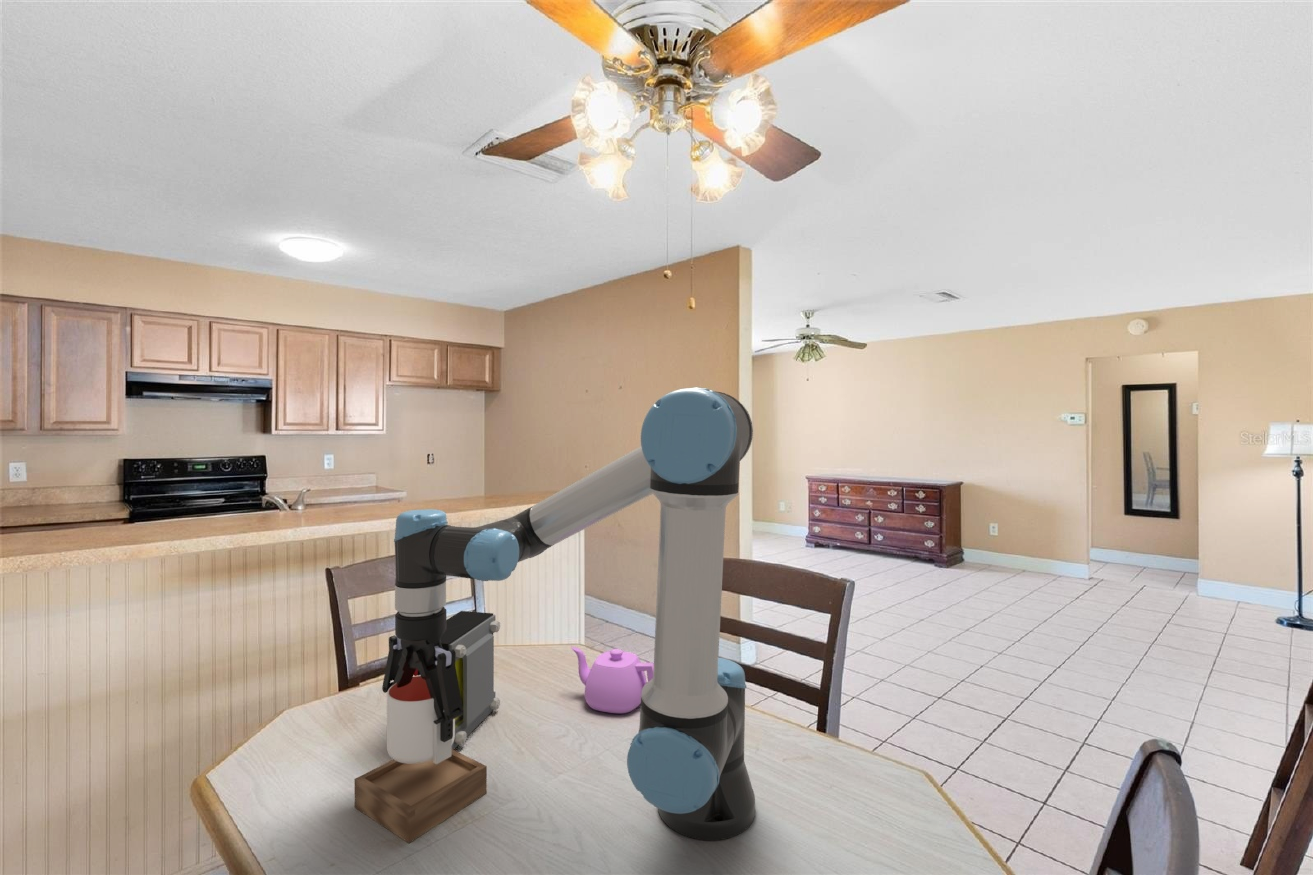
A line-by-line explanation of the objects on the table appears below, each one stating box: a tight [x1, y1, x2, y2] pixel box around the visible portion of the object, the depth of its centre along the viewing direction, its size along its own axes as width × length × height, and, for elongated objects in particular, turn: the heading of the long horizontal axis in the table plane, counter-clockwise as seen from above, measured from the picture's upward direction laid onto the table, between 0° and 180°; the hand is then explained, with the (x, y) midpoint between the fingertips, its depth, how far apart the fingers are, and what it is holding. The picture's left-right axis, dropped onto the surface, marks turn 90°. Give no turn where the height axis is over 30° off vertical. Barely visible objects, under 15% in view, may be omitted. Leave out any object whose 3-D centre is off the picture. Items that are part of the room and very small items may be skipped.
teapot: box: [570, 646, 654, 715], centre depth 130 cm, size 13×20×11 cm, turn 73°
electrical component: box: [413, 610, 501, 750], centre depth 119 cm, size 18×10×20 cm, turn 168°
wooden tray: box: [354, 749, 488, 844], centre depth 96 cm, size 14×14×4 cm
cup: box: [386, 675, 455, 764], centre depth 96 cm, size 10×10×10 cm
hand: (421, 748), depth 96 cm, fingers closed on cup, 10 cm apart
